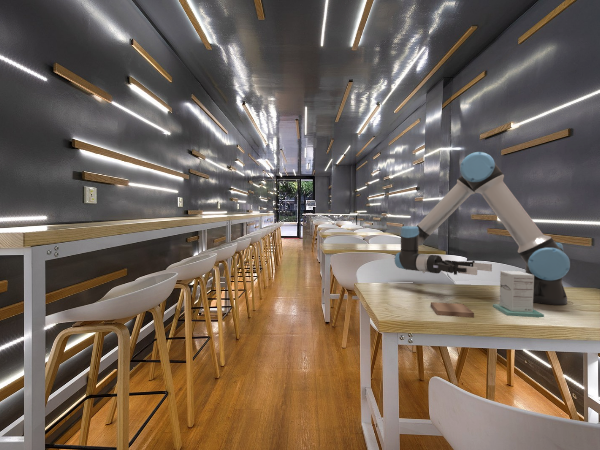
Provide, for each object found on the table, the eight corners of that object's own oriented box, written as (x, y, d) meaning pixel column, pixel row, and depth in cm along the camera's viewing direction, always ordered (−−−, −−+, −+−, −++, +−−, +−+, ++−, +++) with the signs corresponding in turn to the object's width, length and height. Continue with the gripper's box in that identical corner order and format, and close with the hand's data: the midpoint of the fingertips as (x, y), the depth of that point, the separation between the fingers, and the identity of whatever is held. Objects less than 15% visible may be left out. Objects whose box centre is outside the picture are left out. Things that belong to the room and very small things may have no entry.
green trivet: (525, 311, 116) (526, 305, 116) (543, 320, 105) (543, 314, 105) (492, 309, 117) (492, 303, 117) (507, 318, 107) (507, 312, 107)
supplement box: (498, 305, 115) (499, 270, 115) (520, 306, 115) (521, 270, 114) (510, 311, 108) (511, 273, 107) (533, 312, 107) (535, 274, 107)
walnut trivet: (463, 309, 115) (463, 304, 115) (473, 319, 104) (474, 312, 104) (430, 307, 117) (430, 302, 117) (437, 316, 106) (437, 310, 106)
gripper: (444, 269, 144) (496, 275, 127) (414, 275, 128) (469, 283, 111) (444, 252, 144) (497, 257, 127) (414, 256, 128) (470, 262, 111)
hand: (484, 269), depth 119 cm, fingers open, 13 cm apart
